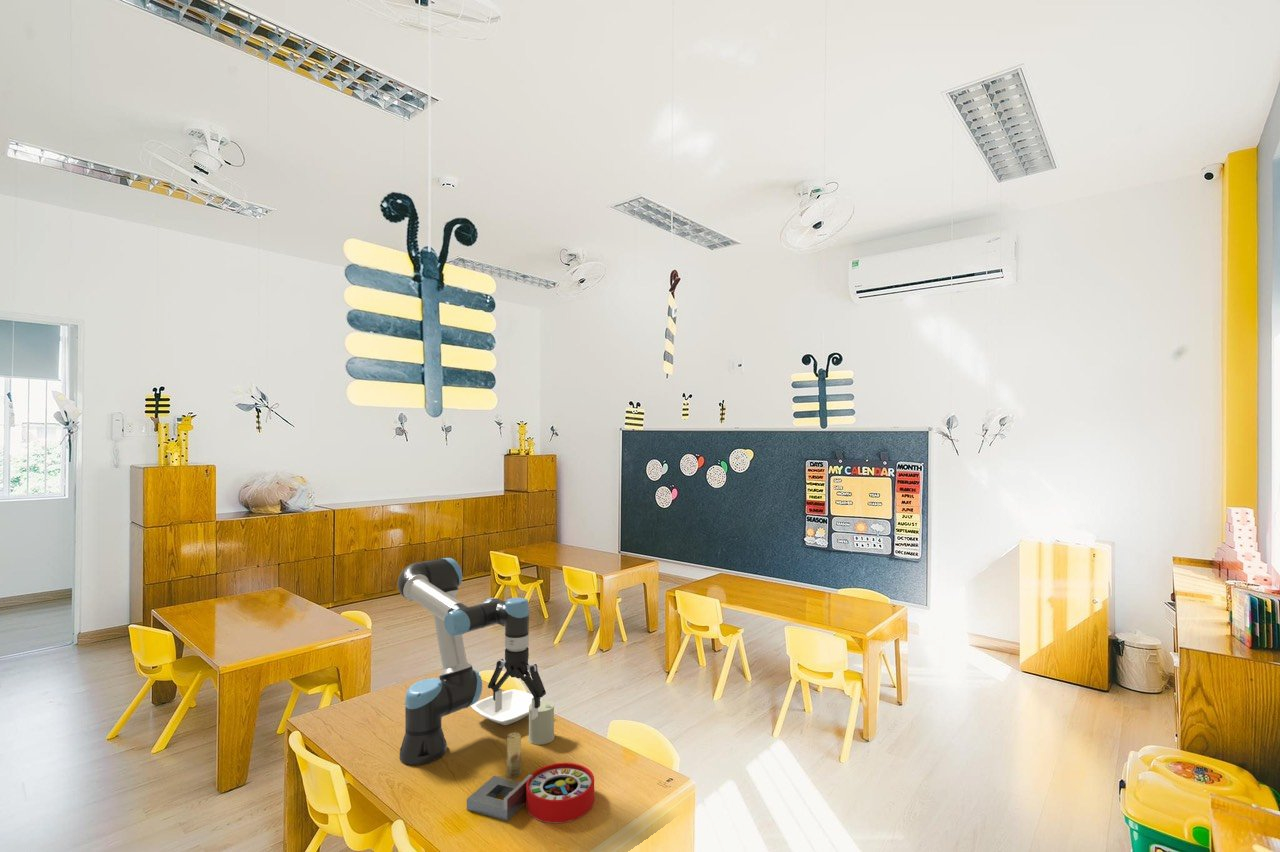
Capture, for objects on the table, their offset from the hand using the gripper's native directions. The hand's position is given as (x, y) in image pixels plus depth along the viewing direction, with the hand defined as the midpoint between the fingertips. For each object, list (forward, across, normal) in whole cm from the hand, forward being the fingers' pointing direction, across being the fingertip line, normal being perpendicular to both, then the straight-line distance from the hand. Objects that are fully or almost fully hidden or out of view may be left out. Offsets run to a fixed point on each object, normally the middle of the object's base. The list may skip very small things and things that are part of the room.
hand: (516, 714), depth 188 cm
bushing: (+19, 0, -1) cm, 19 cm away
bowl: (+19, -23, +31) cm, 43 cm away
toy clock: (+18, +21, -8) cm, 29 cm away
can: (+19, -4, +22) cm, 29 cm away
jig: (+18, +4, -15) cm, 24 cm away
